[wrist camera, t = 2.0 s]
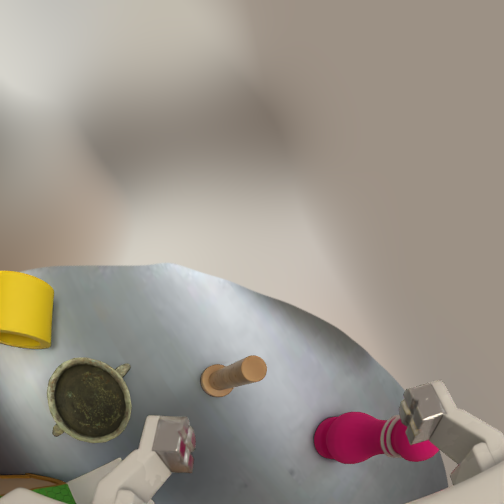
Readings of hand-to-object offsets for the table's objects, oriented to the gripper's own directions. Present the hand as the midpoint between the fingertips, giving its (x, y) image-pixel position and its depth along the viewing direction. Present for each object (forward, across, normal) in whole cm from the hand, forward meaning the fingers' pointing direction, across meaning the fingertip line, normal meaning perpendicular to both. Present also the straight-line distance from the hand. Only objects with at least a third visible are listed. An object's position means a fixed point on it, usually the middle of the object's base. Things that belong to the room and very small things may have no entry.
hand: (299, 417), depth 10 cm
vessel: (+13, +21, +16) cm, 29 cm away
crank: (+16, +32, +1) cm, 36 cm away
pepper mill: (+16, -6, +30) cm, 35 cm away
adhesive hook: (+3, +21, +23) cm, 31 cm away
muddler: (+19, +8, +19) cm, 28 cm away
